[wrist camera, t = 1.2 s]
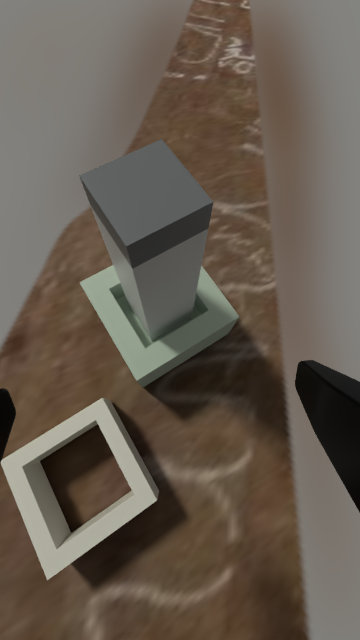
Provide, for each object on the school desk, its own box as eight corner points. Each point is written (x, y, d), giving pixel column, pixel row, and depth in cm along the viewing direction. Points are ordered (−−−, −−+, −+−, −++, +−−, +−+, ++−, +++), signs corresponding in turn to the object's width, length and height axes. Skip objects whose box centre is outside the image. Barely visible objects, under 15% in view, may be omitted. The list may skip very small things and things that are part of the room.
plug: (191, 316, 21) (213, 201, 10) (151, 340, 21) (126, 246, 9) (167, 281, 22) (161, 139, 11) (127, 303, 22) (79, 175, 10)
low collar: (159, 490, 19) (157, 500, 17) (63, 559, 18) (47, 580, 16) (110, 400, 21) (102, 397, 19) (20, 456, 20) (0, 461, 18)
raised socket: (228, 333, 23) (239, 316, 19) (142, 387, 22) (136, 380, 18) (175, 259, 25) (176, 232, 22) (94, 304, 24) (79, 282, 20)
